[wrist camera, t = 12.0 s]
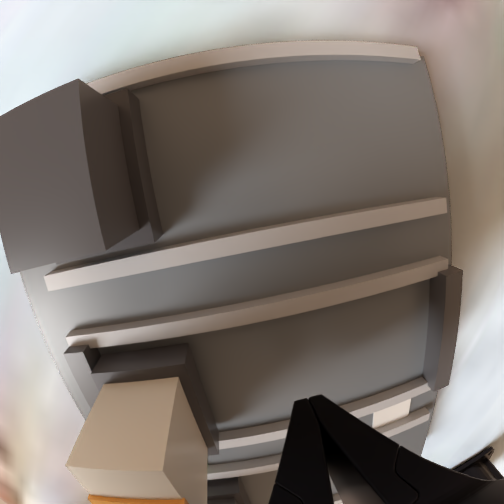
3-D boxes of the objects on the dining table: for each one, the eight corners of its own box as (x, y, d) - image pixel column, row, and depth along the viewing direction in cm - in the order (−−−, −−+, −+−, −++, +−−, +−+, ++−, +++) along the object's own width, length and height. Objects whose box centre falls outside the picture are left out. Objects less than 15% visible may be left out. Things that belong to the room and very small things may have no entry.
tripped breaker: (188, 342, 9) (169, 464, 4) (218, 431, 10) (222, 540, 5) (102, 354, 9) (44, 457, 4) (143, 437, 10) (122, 537, 5)
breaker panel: (401, 64, 9) (488, 20, 4) (406, 451, 14) (442, 507, 9) (18, 136, 9) (-76, 124, 4) (163, 502, 13) (157, 568, 8)
